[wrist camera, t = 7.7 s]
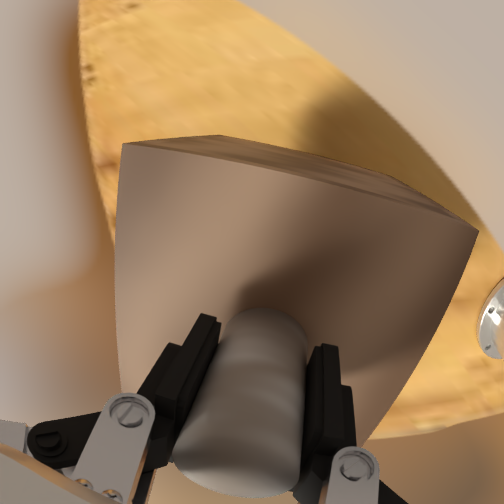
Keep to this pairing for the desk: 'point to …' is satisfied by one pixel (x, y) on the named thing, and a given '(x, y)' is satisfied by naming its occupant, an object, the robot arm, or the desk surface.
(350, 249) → the walnut cover
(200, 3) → the desk surface
